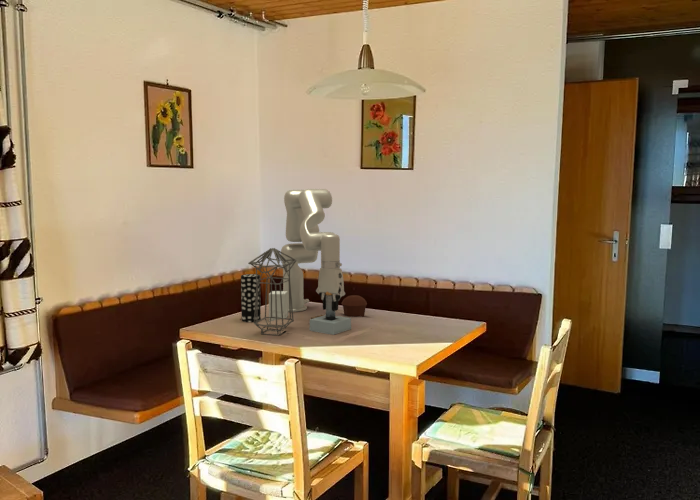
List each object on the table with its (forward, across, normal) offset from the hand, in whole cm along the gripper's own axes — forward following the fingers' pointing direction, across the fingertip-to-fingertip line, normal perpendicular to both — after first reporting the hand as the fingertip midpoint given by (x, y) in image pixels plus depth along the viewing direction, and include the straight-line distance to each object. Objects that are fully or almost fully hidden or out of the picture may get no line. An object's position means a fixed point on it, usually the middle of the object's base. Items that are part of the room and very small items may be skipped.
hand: (330, 309), depth 262 cm
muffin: (+10, +9, -30) cm, 33 cm away
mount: (+10, +10, -8) cm, 16 cm away
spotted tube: (+10, +43, +1) cm, 44 cm away
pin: (+5, 0, 0) cm, 5 cm away
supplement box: (+10, +33, -6) cm, 35 cm away
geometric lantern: (+10, +19, +13) cm, 25 cm away
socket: (+10, 0, 0) cm, 10 cm away
